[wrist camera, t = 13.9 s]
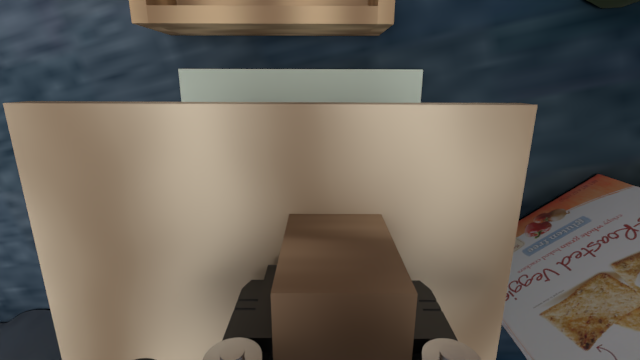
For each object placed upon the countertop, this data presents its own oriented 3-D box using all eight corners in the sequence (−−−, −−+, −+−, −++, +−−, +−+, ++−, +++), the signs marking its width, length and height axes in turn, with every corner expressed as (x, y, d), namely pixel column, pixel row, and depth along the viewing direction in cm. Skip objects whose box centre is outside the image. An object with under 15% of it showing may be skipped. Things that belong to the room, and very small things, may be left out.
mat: (197, 242, 32) (195, 245, 32) (181, 69, 28) (178, 68, 28) (407, 243, 32) (409, 246, 32) (420, 69, 28) (423, 69, 28)
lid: (102, 380, 16) (-36, 570, 10) (47, 99, 12) (-215, 118, 6) (467, 381, 16) (561, 572, 10) (507, 101, 12) (685, 121, 6)
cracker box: (594, 168, 30) (1132, 339, 10) (622, 221, 32) (1146, 466, 12) (451, 253, 33) (663, 534, 12) (482, 300, 34) (720, 623, 14)
